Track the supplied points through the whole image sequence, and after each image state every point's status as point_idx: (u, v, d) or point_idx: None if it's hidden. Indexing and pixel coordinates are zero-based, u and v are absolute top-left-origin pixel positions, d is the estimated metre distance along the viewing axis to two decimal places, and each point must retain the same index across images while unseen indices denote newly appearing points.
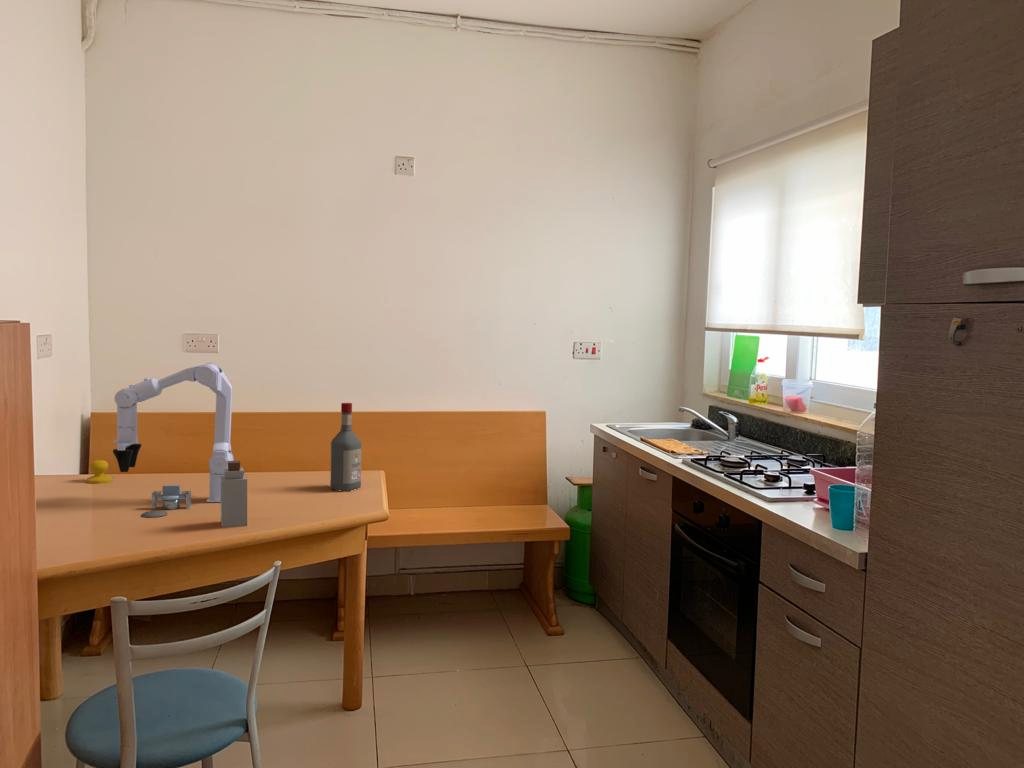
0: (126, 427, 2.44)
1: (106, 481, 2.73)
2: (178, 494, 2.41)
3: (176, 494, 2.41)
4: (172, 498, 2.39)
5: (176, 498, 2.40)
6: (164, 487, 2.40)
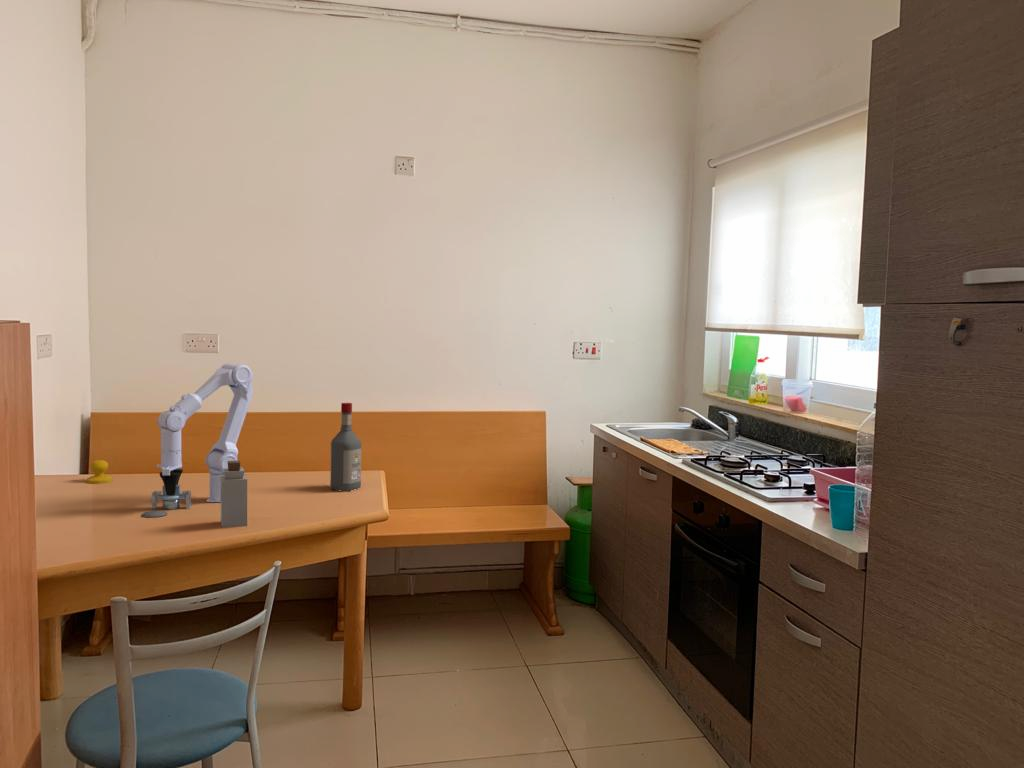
0: (170, 451, 2.38)
1: (106, 481, 2.73)
2: (178, 494, 2.41)
3: (176, 494, 2.41)
4: (172, 498, 2.39)
5: (176, 498, 2.40)
6: (164, 487, 2.40)
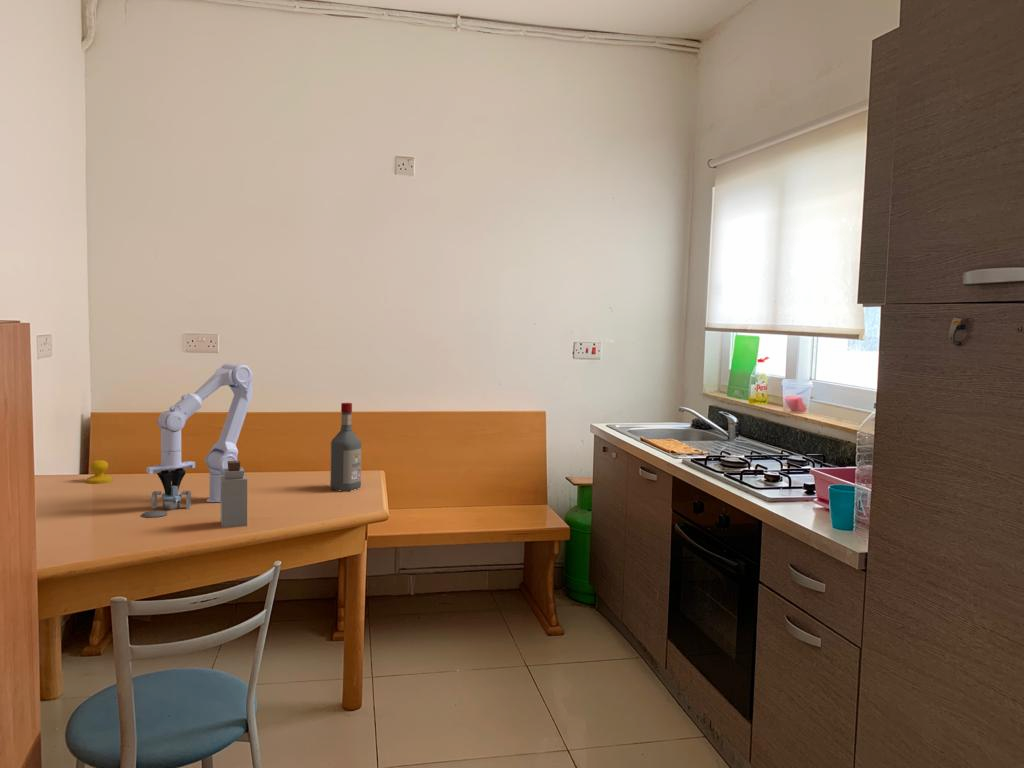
0: (163, 451, 2.38)
1: (106, 481, 2.73)
2: (172, 495, 2.40)
3: (171, 495, 2.40)
4: (164, 498, 2.39)
5: (168, 499, 2.39)
6: None
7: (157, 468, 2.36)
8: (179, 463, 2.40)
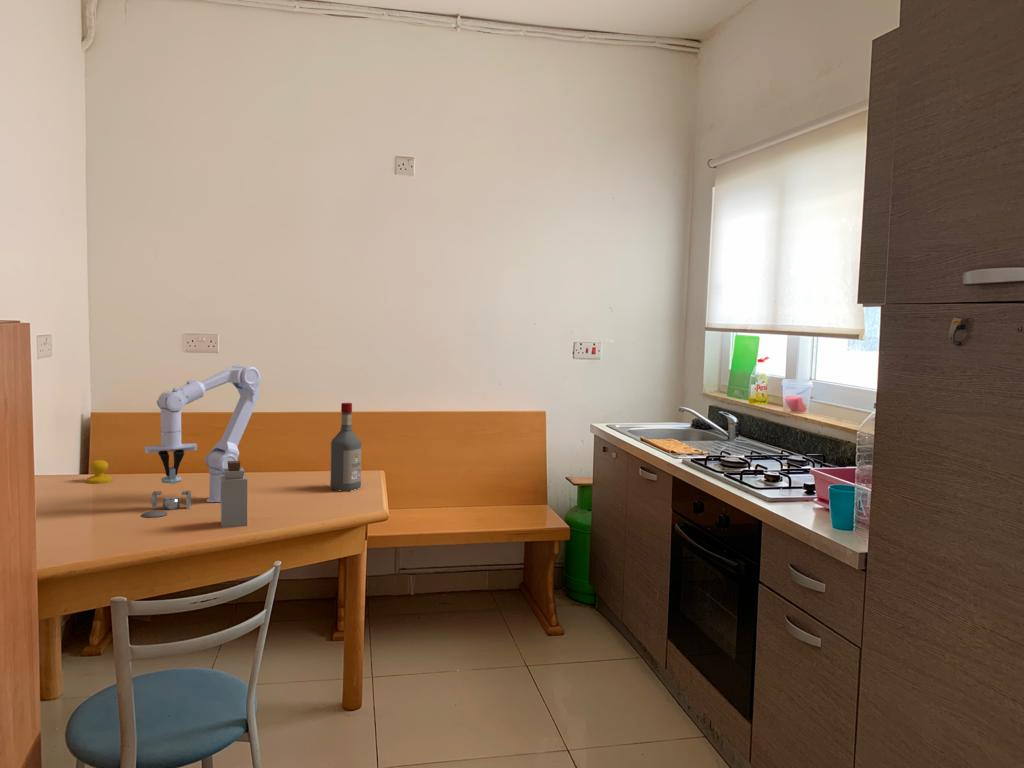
0: (161, 431, 2.38)
1: (106, 481, 2.73)
2: (169, 478, 2.39)
3: (169, 478, 2.39)
4: (162, 480, 2.39)
5: (165, 481, 2.38)
6: None
7: (153, 448, 2.36)
8: (176, 444, 2.39)
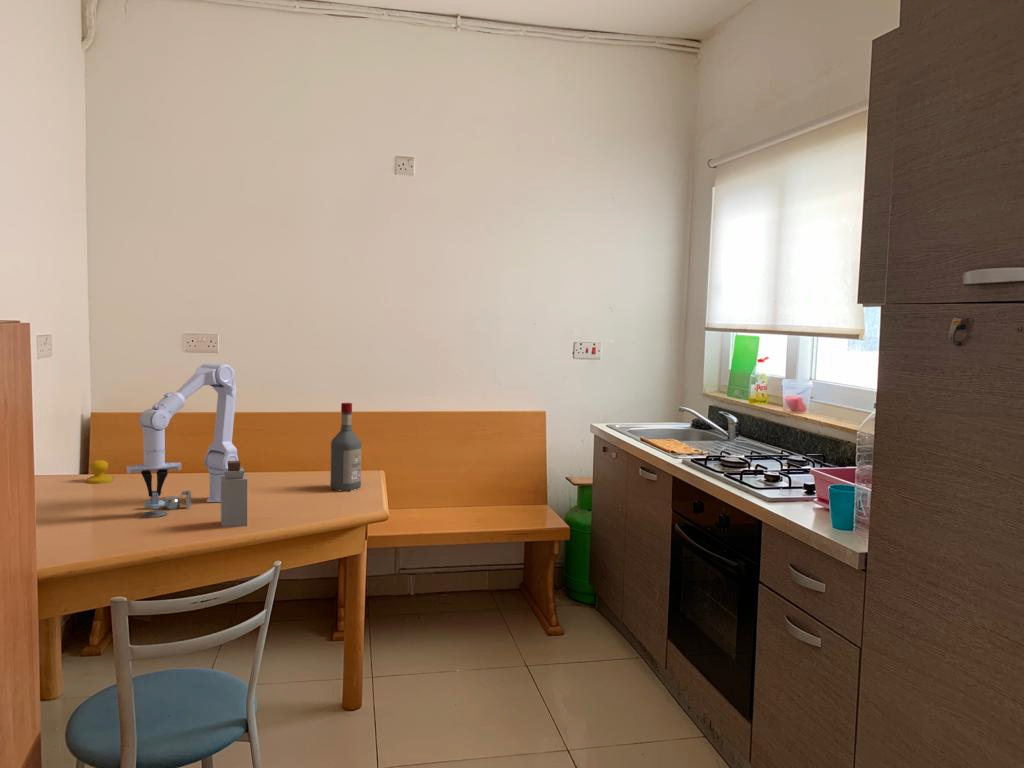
0: (144, 450, 2.30)
1: (106, 481, 2.73)
2: (152, 503, 2.31)
3: (152, 502, 2.31)
4: (144, 505, 2.31)
5: (147, 506, 2.31)
6: None
7: (135, 468, 2.28)
8: (160, 464, 2.31)
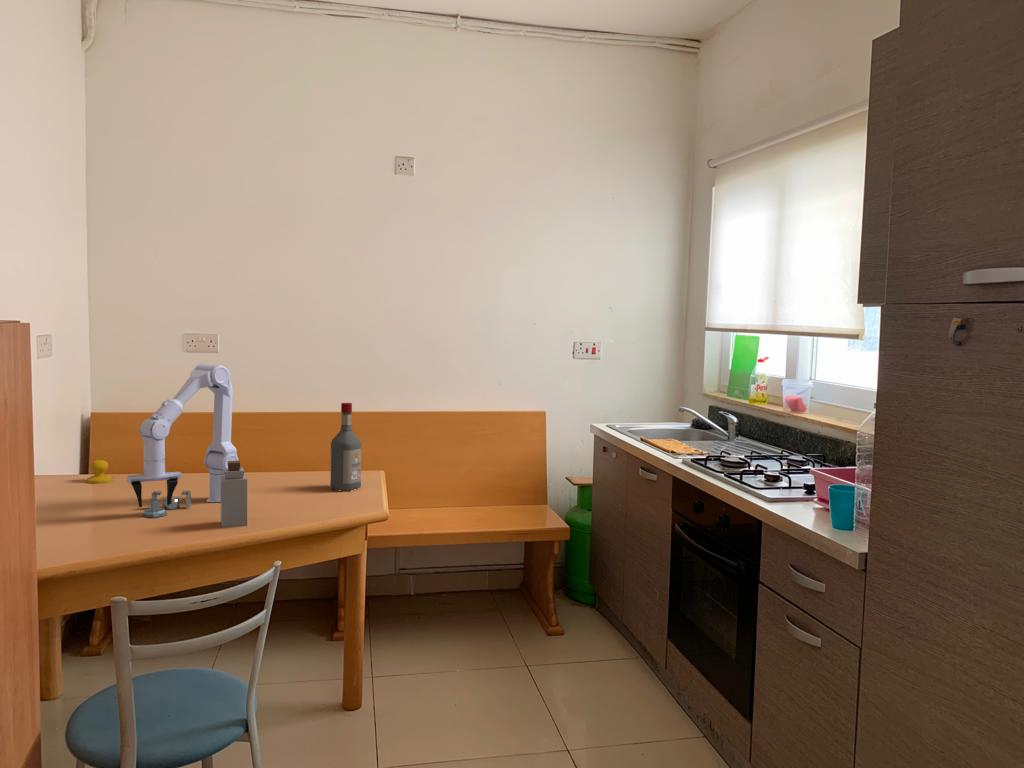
0: (144, 460, 2.30)
1: (106, 481, 2.73)
2: (152, 511, 2.31)
3: (152, 510, 2.32)
4: (145, 513, 2.31)
5: (147, 514, 2.31)
6: (150, 500, 2.34)
7: (136, 477, 2.29)
8: (160, 473, 2.31)
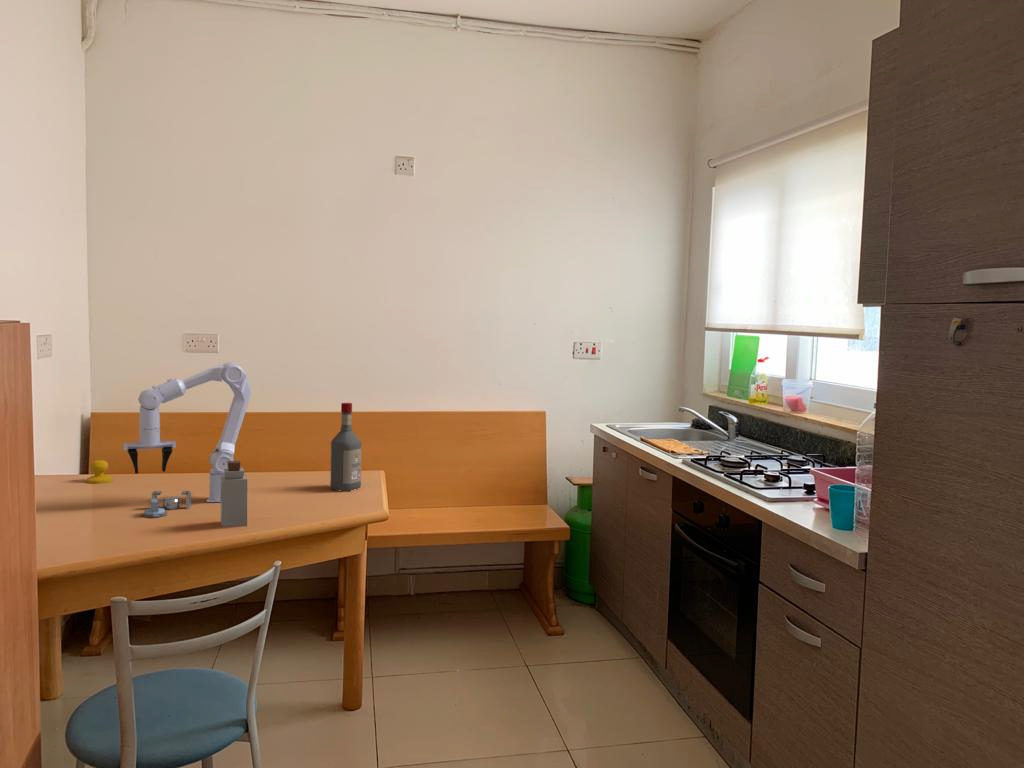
0: (140, 428, 2.40)
1: (106, 481, 2.73)
2: (152, 511, 2.31)
3: (152, 510, 2.32)
4: (145, 513, 2.31)
5: (147, 514, 2.31)
6: (150, 500, 2.34)
7: (132, 445, 2.39)
8: (155, 442, 2.41)
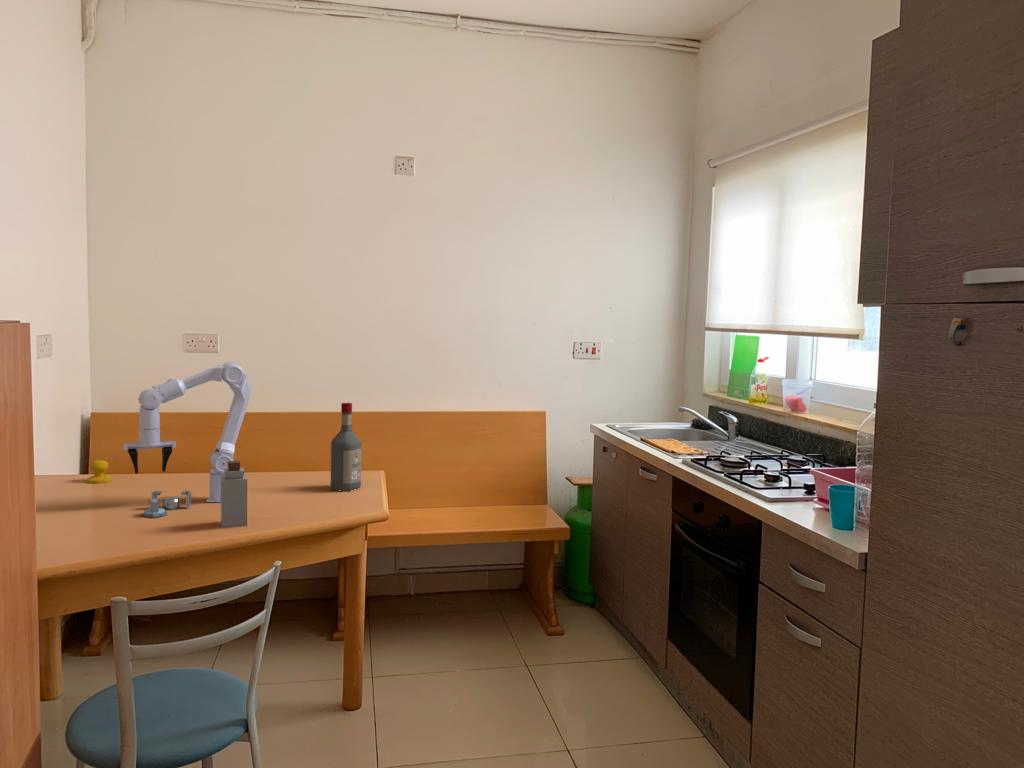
0: (140, 428, 2.40)
1: (106, 481, 2.73)
2: (152, 511, 2.31)
3: (152, 510, 2.32)
4: (145, 513, 2.31)
5: (147, 514, 2.31)
6: (150, 500, 2.34)
7: (132, 445, 2.39)
8: (155, 442, 2.41)
